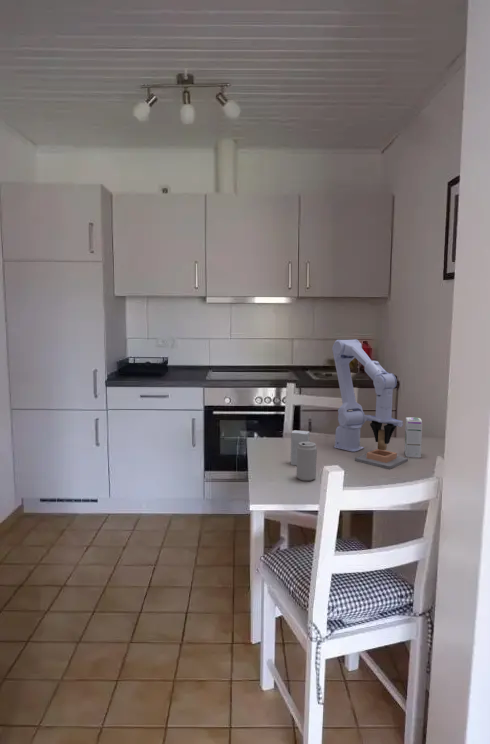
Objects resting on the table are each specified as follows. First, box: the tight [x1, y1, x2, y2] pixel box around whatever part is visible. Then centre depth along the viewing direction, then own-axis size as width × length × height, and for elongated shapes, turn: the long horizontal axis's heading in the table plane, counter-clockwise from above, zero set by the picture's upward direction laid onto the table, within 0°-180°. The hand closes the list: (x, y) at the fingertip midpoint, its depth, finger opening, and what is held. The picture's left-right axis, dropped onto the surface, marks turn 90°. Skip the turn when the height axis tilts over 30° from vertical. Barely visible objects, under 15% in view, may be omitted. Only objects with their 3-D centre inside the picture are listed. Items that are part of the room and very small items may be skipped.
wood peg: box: [377, 428, 388, 451], centre depth 190 cm, size 3×3×7 cm
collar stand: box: [354, 448, 409, 470], centre depth 191 cm, size 14×14×3 cm
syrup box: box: [403, 416, 423, 459], centre depth 197 cm, size 6×6×14 cm
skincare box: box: [290, 429, 311, 466], centre depth 185 cm, size 6×4×12 cm
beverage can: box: [296, 441, 318, 482], centre depth 169 cm, size 6×6×12 cm
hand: (382, 442), depth 190 cm, fingers closed on wood peg, 3 cm apart
